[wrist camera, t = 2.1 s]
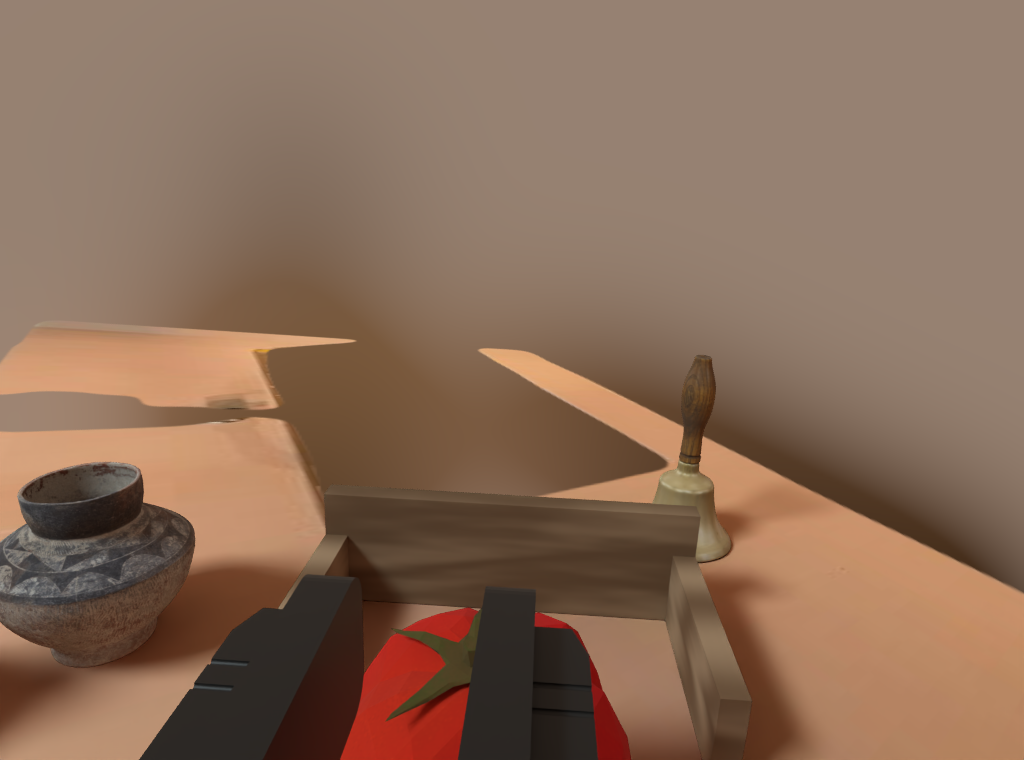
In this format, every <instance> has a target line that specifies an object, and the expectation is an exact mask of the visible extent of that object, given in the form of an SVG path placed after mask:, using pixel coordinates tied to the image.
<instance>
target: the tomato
mask: <svg viewBox="0 0 1024 760" xmlns="http://www.w3.org/2000/svg"><path fill="white" fill-rule="evenodd" d="M481 612H482V608H481V609H480V610H479V611H476V610H474V609H471V608H469V607H468V608H464V609H459V610H455V611H450V612H445V613H441V614H437V615H434V616H431V617H428V618H425V619H422V620H420V621H418V622H416V623H414V624H412V625H411V626H409V627H407V628H405V629H403V630H398V629H392V628H391V629H392V630H394V631H395V632H397V633H396V634H395V635H393V636H391V637H390V639H389V640H388V641H387V643H386V644H385V645H384V647H383V648H382V649H381V651H380V652H379V654H378V655H377V656H376V658H375V659H374V660H373V662H372V663H371V665H370V666H369V667H368V669H367V670H366V672H365V673H364V677H363V687H362V693H361V699H360V703H359V708H358V711H357V715H356V718H355V720H354V723H353V726H352V729H351V731H350V734H349V737H348V739H347V742H346V745H345V748H344V750H343V753H342V756H341V759H340V760H458V755H459V749H460V742H461V736H462V730H463V724H464V717H465V711H466V705H467V699H468V693H469V686H470V680H471V674H472V668H473V661H474V655H475V649H476V643H477V637H478V630H479V624H480V618H481ZM535 626H536V627H551V628H565V629H572V630H573V631H574V633H575V634H576V636H577V637H578V639H579V641H580V642H581V644H582V645H583V647H584V648H585V646H584V643H583V641H582V639H581V637H580V635H579V633H578V632H577V631H576V630H575V629H573V628H572V627H571V626H569V625H568V624H567V623H564V622H562V621H559V620H557V619H554V618H552V617H549V616H547V615H544V614H541V613H539V612H538V613H535ZM585 650H586V648H585ZM586 651H587V650H586ZM587 653H588V652H587ZM589 659H590V670H591V682H592V694H593V706H594V719H595V729H596V741H597V753H598V760H631V756H630V750H629V744H628V738H627V735H626V734H625V732H624V730H623V728H622V726H621V724H620V722H619V720H618V718H617V716H616V714H615V712H614V710H613V708H612V706H611V704H610V702H609V701H608V699H607V697H606V695H605V693H604V692H603V690H602V686H601V683H600V679H599V676H598V673H597V670H596V668H595V666H594V664H593V662H592V660H591V658H590V656H589Z"/></svg>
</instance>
